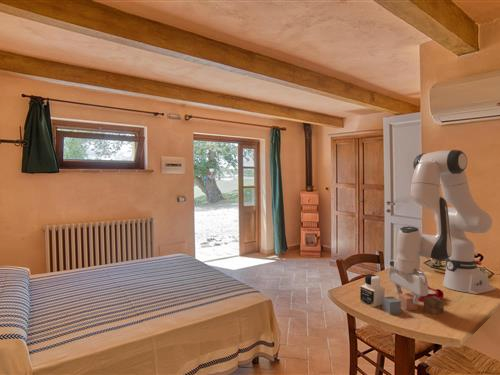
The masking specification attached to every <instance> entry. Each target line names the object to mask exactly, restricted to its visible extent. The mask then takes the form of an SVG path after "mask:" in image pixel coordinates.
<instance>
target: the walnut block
mask: <svg viewBox="0 0 500 375" xmlns="http://www.w3.org/2000/svg"><path fill="white" fill-rule="evenodd" d="M444 305H445V301H444V300H443V299H441V298H437V297H435V296H432V297H424V302H423V310H425V311H427V312H428V313H429V314H432V315H437V314H444V312H445V310H444V308H445V306H444Z"/></svg>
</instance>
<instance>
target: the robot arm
mask: <svg viewBox="0 0 500 375" xmlns="http://www.w3.org/2000/svg"><path fill="white" fill-rule="evenodd" d="M412 165H413V169H414V171H413V174H412V177H411V184H410V197H411V198H412V200H413V201H414V202H415V203H416V204H417V205H420V206H422V207H424V208H426V209H429V210H430V211H432V212H433V213H434V221H435V225H436V234H428V233H427V234H425V233H421V232H420V229H419V228H418V227H416V226H403V227H401V228H399V229H398V233H397V239H396V251H397V255H396V259H391V260H388V265H389V266H388V279H389V280H390V282H392V283H394V287H395V289H396V295H398V296H399V294H403V290H402V288H403V289H405V290H407V291H409V292H411V294H412V295H414V298H412V303H414V304H417V305H418V303H419V300H418V299H419V298H420V296H427V295H428V286H429V283H428V277H427V276H426V274H425V273H424V272H423V271H421V269H420V268H421V258H422V257H423V258H429V259H432V260H434V261H435V260H436V261H439V262H444V261H445V272H444V278H443V280H442V286H443V287H445V288H446V289H450V290H452V291H456V292H460V293H462V292H463V293H468V294H474V295H478V294H483V293H488V292H492V291H495V290H496V287H494V286H493V285H491V284H490V280H489V276H488V275H487V274H486V273H484V272H483V271H482V270H480V269H479V268H478V266H482V264H483V262H482V261H481V260H475V248H476V247H475V244H474V242H473V241H472V240H470V239H469V238H468V236H466V232H467V233H473V234H485V233H487V232H489V230H491V228H492V226H493V219H492V216H491V215H490V214H489V212H487V211H485V210H484V209H482V208H481V207H480V206H479V205H478V204H477V202H476V201H475V200H474V197H473V196H472V194H471V190H470V189H471V188H470V185H469V182H468V177H467V174H466V170H465V169H467V165H468V158H467V155H466V153H465V152H464V151H462V150H459V149H452V150H437V151H432V152H427V153H420V154H418V155H417V156H416V157H415V158H414V160H413V164H412ZM440 187H441V188H440ZM440 189H441V192H442V195H441V192H440ZM447 203H448V204H449V205H451V206H449V207H448V204H447ZM420 257H421V258H420Z"/></svg>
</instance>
